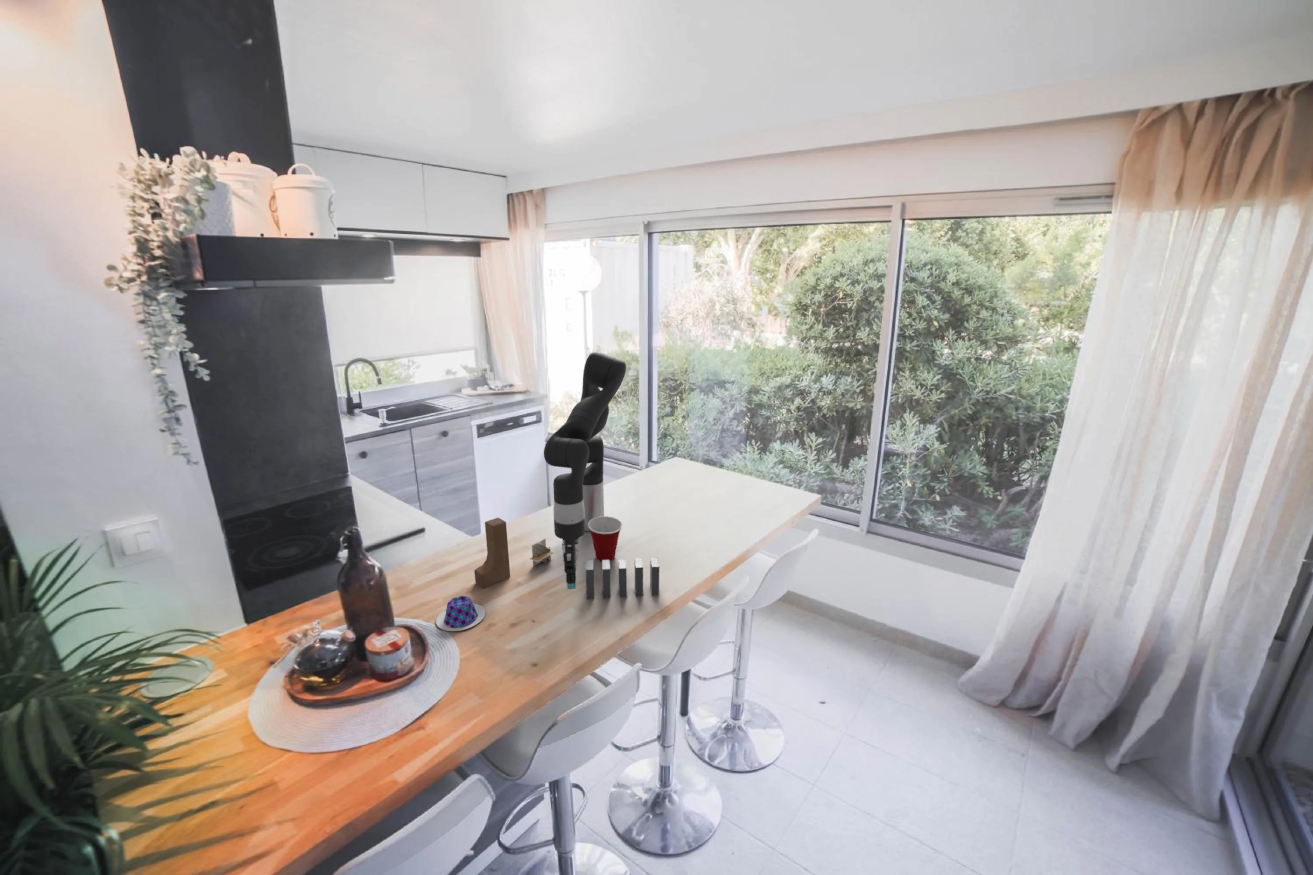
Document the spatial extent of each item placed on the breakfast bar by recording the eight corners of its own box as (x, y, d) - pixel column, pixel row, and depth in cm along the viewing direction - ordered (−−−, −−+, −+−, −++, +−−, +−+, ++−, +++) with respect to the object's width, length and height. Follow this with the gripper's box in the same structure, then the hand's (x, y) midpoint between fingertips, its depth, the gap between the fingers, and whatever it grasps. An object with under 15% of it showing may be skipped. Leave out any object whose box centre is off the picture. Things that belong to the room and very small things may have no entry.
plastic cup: (603, 570, 162) (603, 534, 158) (581, 557, 169) (580, 523, 166) (630, 557, 169) (629, 523, 166) (607, 546, 176) (607, 512, 173)
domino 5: (635, 596, 149) (635, 567, 146) (634, 586, 153) (634, 558, 151) (643, 596, 149) (643, 567, 146) (641, 586, 154) (641, 558, 151)
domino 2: (586, 599, 147) (585, 569, 145) (587, 589, 152) (586, 560, 149) (594, 598, 147) (593, 569, 145) (594, 588, 152) (593, 560, 150)
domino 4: (619, 597, 148) (619, 568, 145) (618, 587, 153) (618, 559, 150) (626, 597, 148) (626, 568, 146) (625, 587, 153) (625, 559, 150)
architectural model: (554, 562, 167) (553, 541, 165) (538, 572, 161) (536, 550, 159) (546, 559, 169) (545, 538, 167) (530, 568, 163) (528, 546, 161)
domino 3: (603, 598, 148) (602, 569, 145) (603, 588, 152) (602, 560, 150) (610, 597, 148) (609, 568, 145) (610, 587, 153) (609, 559, 150)
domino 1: (567, 589, 134) (566, 557, 132) (568, 578, 139) (567, 547, 137) (575, 588, 135) (574, 556, 132) (576, 577, 139) (575, 547, 137)
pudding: (487, 627, 135) (485, 609, 134) (436, 638, 131) (433, 619, 130) (483, 601, 146) (482, 584, 145) (436, 610, 142) (434, 593, 140)
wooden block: (482, 589, 151) (477, 531, 146) (475, 583, 154) (469, 526, 149) (510, 577, 158) (506, 521, 153) (502, 571, 161) (498, 516, 155)
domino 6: (651, 595, 149) (652, 566, 146) (650, 585, 154) (650, 557, 151) (658, 595, 149) (659, 566, 147) (657, 585, 154) (657, 557, 151)
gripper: (583, 528, 125) (585, 592, 130) (585, 503, 139) (587, 561, 144) (551, 529, 124) (554, 593, 129) (556, 504, 138) (558, 563, 143)
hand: (571, 576), depth 136 cm, fingers closed on domino 1, 5 cm apart
